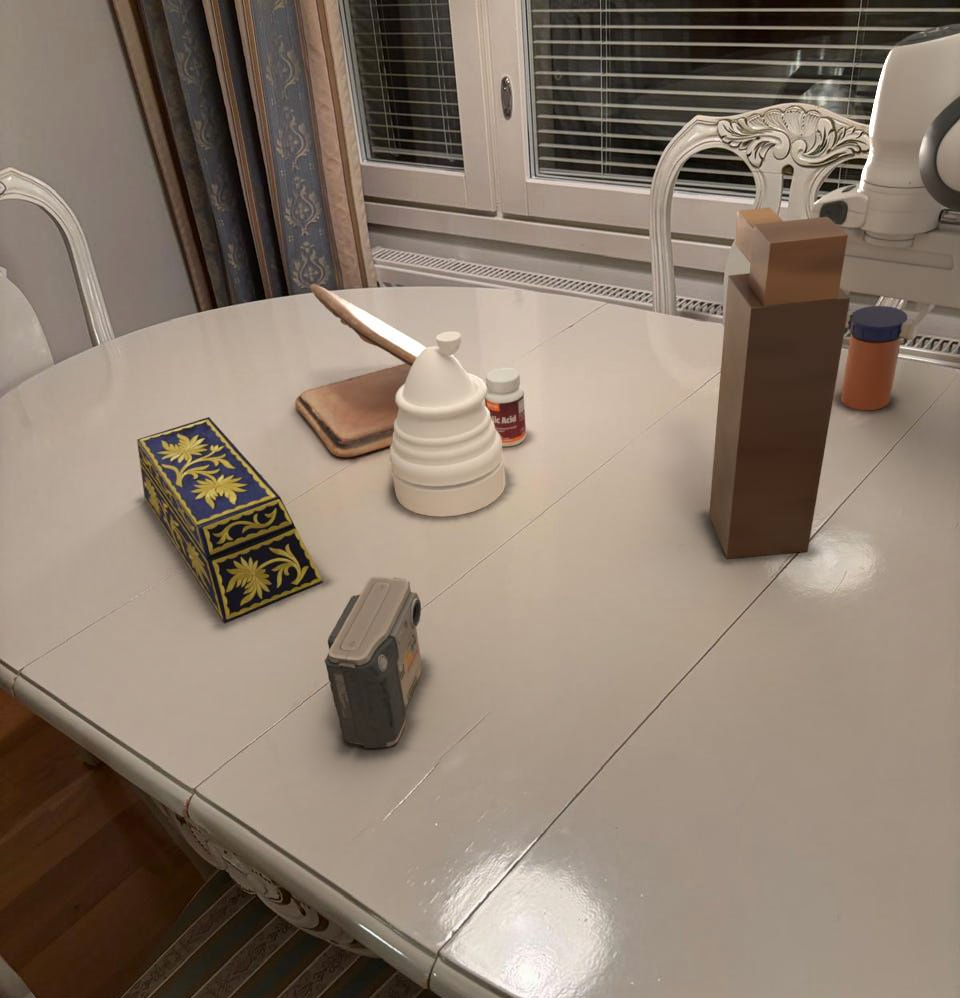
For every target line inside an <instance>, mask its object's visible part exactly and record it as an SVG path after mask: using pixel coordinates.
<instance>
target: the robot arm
mask: <svg viewBox="0 0 960 998" xmlns="http://www.w3.org/2000/svg"><path fill="white" fill-rule="evenodd" d="M868 127H869V128H868V137H869V138H868V139H869V151H868V157H867V160H866V162H865V164H864V166H863V169H862V172H861V177H860V182H859V183H855V184H850V185H846V186H842V187H839V188H836V189H834V190H831V191H830V192H828V193H826V194H824V195H823V196H822V197H820V198H819V199H818V200H817V201H815V202H814V203H813V204H812V206H811V208H810V218H820V217H828V218H829V219H831V220H832V221H833V222H834V223H835V224H836V225H837V226H838V227H840V228H841V229H842V230H843V231H844V232H845V233H846V234H847V235H848V237H847V244H846V250H845V256H844V263H843V269H842V275H841V282H840V288H841V289H842V290H843V291H844V292H845V293H846V294H847V296H849V295H850V293H851V292H852V293H858V294H863V295H869V296H870V295H871V296H875V297H876V296H877V297H882V298H888V299H895V300H901V301H907V302H914V303H916V304H915V309H914V310H915V312H918V314H917V315H916V317H914V318H913V319H911V318H907V320H906V322H904V323H902V325H901V333H900V335H899V338H901V339H903V340H909V341H913V340H914V339H916V337H917V335H918V333H919V328H920V325H921V322H922V321H923V320H924V319H925V318H926V317H927V316H928V314H929V313H930V312H931V311H932V310H934V308H935V306H939V307H945V308H950V309H951V308H952V309H957V310H960V23H952V24H945V25H939V26H936V27H932V28H927V29H925V30H921V31H918V32H917V31H916V32H915V33H912V34H910V35H908V36H906V37H905V38H904V39H901V40H900V41H899V42H897V43H896V44H895V45H894V46H893V47H892V49H890V51H889V52H888V54H887V57H886V58H885V61H884V64H883V66H882V70H881V74H880V77H879V81H878V84H877V88H876V92H875V98H874V102H873V106H872V112H871V117H870V122H869V126H868ZM945 208H946V209H948V210H945ZM856 310H857V309H852V308H851V306H850V305H849V307H848V313H847V319H846V325H845V329H849V324H850V320H851V316H852V314H853V313H854V312H855V311H856Z"/></svg>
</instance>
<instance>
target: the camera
mask: <svg viewBox="0 0 960 998" xmlns="http://www.w3.org/2000/svg"><path fill="white" fill-rule="evenodd" d="M411 590H412V589H411V583H410V581H409V580H407V579H406V578H399V577H391V578H390V577H384V576H383V577H382V576H371V577H369V578H368V580H367V582H366V583H365V585H364V587H363V589H362V590H361V592H360V594H357V595H352V596H351V597H350V599H349V601H348V602H347V604H346V606H345V607H344V609H343V611H342V613H341V615H340V617H339V618H338V620H337V622H336V624H335V626H334V627H333V629H332V631H331V633H330V634H329V636H328V639H327V645H328V653H327V655H326V657H325V659H324V664H325V667H326V672H327V678H328V681H329V683H330V684H329V686H330V691H331V693H332V699H333V703H334V707H335V709H336V714H337V717H338V722H339V728H340V730H341V736H342V738H343V740H345V741H346V743H347V744H348V745H349V744H354V745H361V746H363V748H365V749H378V748H388V747H393V746H395V745H396V744H397V743H398V742H399V740H400V738H401V736H402V733H403V731H404V729H405V726H406V723H407V713H406V708H407V707H408V704H409V702H410V700H411V698H412V696H413V693H414V691H415V688H416V686H417V683H418V681H419V679H420V677H421V674H422V671H423V669H422V659H421V658H422V656H421V651H420V645H419V644H420V643H419V638H418V630H417V627H418V625H419V623H420V620H421V615H422V603H421V601H420V600H421V599H420V597H419V595H418V593H416V592H414V591H411Z"/></svg>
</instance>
